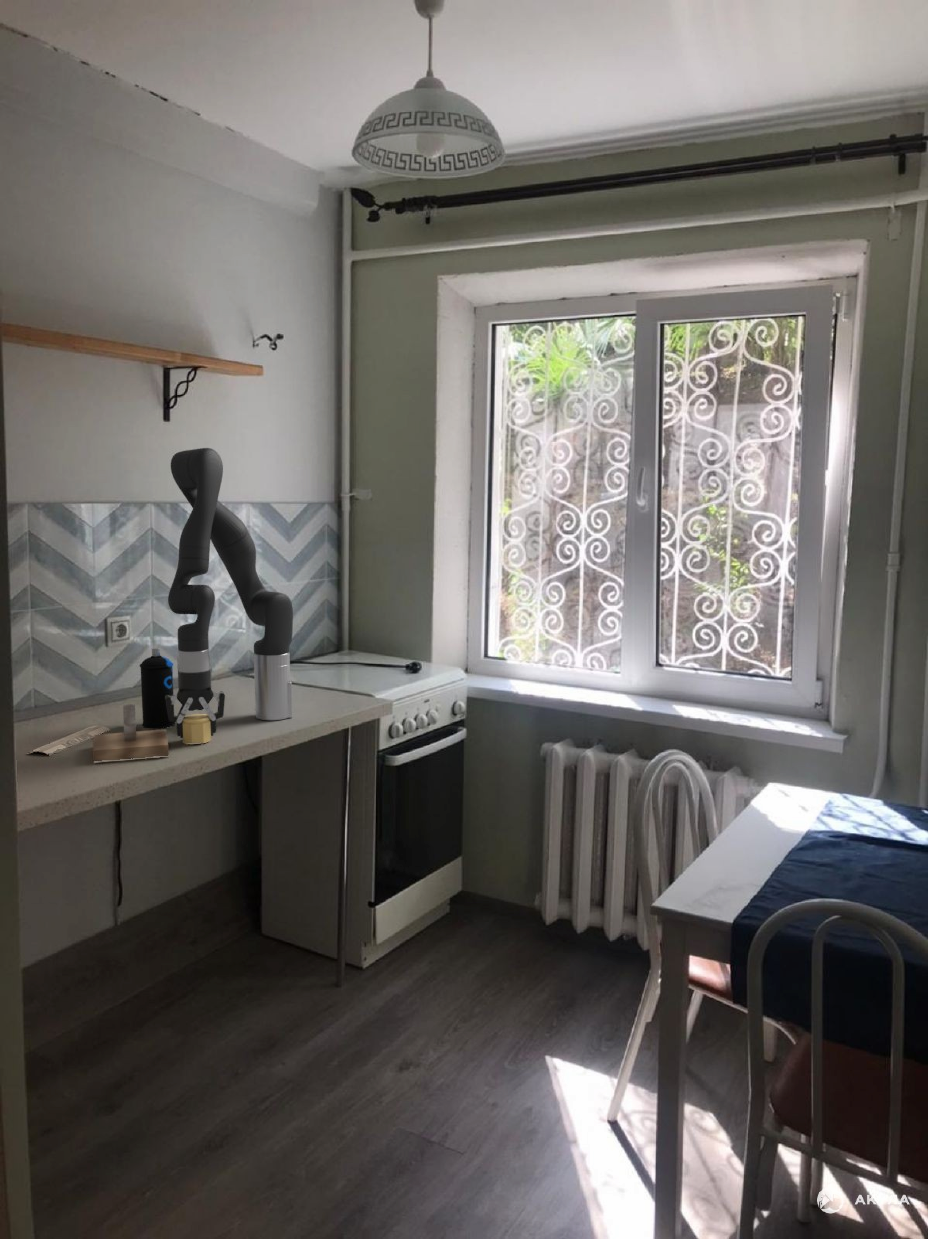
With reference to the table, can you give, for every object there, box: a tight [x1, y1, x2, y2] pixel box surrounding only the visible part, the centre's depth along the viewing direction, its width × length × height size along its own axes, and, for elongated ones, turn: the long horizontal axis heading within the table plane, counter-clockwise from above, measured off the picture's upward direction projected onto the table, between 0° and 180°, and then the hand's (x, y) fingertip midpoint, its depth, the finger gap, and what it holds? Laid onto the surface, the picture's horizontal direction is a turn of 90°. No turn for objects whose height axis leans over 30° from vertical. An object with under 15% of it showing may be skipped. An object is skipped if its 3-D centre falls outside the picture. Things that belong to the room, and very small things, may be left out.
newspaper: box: [29, 725, 111, 755], centre depth 238 cm, size 24×7×2 cm, turn 166°
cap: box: [182, 713, 212, 744], centre depth 239 cm, size 6×6×6 cm
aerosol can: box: [139, 647, 177, 730], centre depth 253 cm, size 8×8×20 cm
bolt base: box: [92, 704, 169, 761], centre depth 229 cm, size 16×14×11 cm
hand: (196, 736), depth 239 cm, fingers closed on cap, 6 cm apart
